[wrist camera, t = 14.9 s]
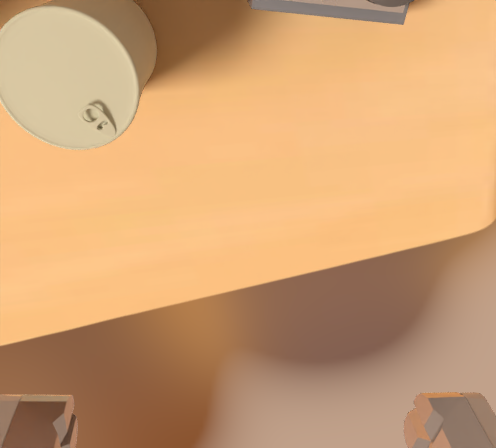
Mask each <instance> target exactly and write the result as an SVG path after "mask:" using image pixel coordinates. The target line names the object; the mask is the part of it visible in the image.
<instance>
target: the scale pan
mask: <svg viewBox="0 0 496 448" xmlns="http://www.w3.org/2000/svg"><path fill="white" fill-rule="evenodd" d="M286 1H295V2H304V3H314V4H323V5H332V6H342V7H351V8H360V9H370V10H379V11H388V12H398V13H403V12H404V8H405V5H402V6H398V7H385V6H381V5H378V4H374V3H371V2H369V1H367V0H286Z"/></svg>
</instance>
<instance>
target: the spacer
mask: <svg viewBox="0 0 496 448" xmlns="http://www.w3.org/2000/svg"><path fill="white" fill-rule="evenodd" d="M367 1H369V2H371V3H374V4H378V5H381V6H385V7H398V6H402V5H405V4H408V3H410V2H412V1H414V0H367Z"/></svg>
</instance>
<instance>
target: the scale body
mask: <svg viewBox="0 0 496 448" xmlns="http://www.w3.org/2000/svg"><path fill="white" fill-rule="evenodd" d="M248 3H249V5H250V7H251V9H257V10H267V11H277V12H286V13H296V14H305V15H315V16H325V17H334V18H344V19H353V20H363V21H373V22H382V23H392V24H401V25H403V24H404V21H405V17H406V13H407V10H408V6H409V3H408V4H405V8H404V12H403V13H398V12H388V11H379V10H370V9H360V8H351V7H342V6H332V5H323V4H314V3H304V2H295V1H286V0H248Z"/></svg>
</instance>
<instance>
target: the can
mask: <svg viewBox="0 0 496 448" xmlns="http://www.w3.org/2000/svg"><path fill="white" fill-rule="evenodd" d="M156 57H157V44H156V38H155V34H154V31H153V28H152V26H151V23H150V21H149V20H148V18H147V16H146V15H145V13H144V12H143V11H142V9H141V8H140V7H139V6H138V5H137V4H136V3H135V2H134V1H133V0H52V1H50V2H47V3H45V4H43V5H41V6H37V7H33V8H29V9H27V10H24V11H22V12H20V13H18V14H17V15H15V16H14V17H12V18H11V19H10V20H9V21H8V22H7V23H6V24H5V25H4V26H3V27H2V29H1V30H0V102H1V104H2V105H3V107H4V108H5V110H6V111H7V112H8V114H9V115H10V116H11V117H12V119H13V120H14V121H15V122H16V123H17V124H18V125H19V126H21V127H22V128H23V129H24V130H25V131H27V132H28V133H29V134H31V135H32V136H34V137H36V138H37V139H39V140H41V141H43V142H45V143H48V144H50V145H53V146H57V147H60V148H65V149H72V150H86V149H93V148H97V147H100V146H103V145H106V144H108V143H110V142H112V141H113V140H115V139H116V138H118V137H119V136H120V135H121V134H122V133H123V132H124V131H125V130H126V129H127V128H128V127H129V125H130V124H131V122H132V121H133V119H134V116H135V114H136V112H137V108H138V105H139V99H140V97H141V94H142V91H143V89H144V86H145V84H146V82H147V81H148V79H149V78H150V76H151V74H152V72H153V70H154V67H155V63H156Z"/></svg>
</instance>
